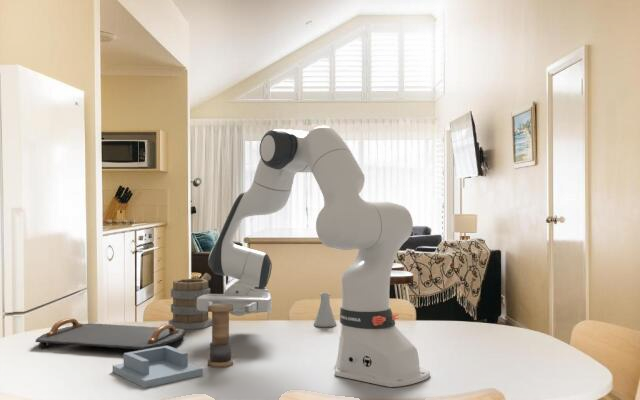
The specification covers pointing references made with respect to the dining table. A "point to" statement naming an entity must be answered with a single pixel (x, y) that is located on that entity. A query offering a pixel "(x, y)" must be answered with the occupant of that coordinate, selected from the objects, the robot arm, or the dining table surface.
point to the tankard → (189, 303)
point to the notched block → (156, 366)
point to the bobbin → (220, 336)
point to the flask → (325, 313)
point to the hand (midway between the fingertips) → (229, 308)
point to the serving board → (111, 335)
